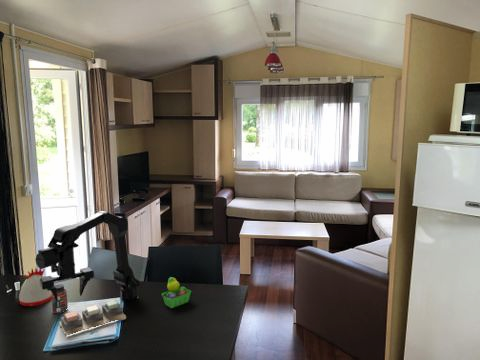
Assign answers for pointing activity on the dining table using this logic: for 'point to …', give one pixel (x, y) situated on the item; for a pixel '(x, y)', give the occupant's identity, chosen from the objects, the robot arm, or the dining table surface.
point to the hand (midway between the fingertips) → (69, 298)
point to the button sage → (111, 304)
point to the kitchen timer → (34, 290)
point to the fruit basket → (175, 294)
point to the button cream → (92, 310)
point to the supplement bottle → (59, 300)
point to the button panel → (92, 319)
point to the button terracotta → (71, 316)
